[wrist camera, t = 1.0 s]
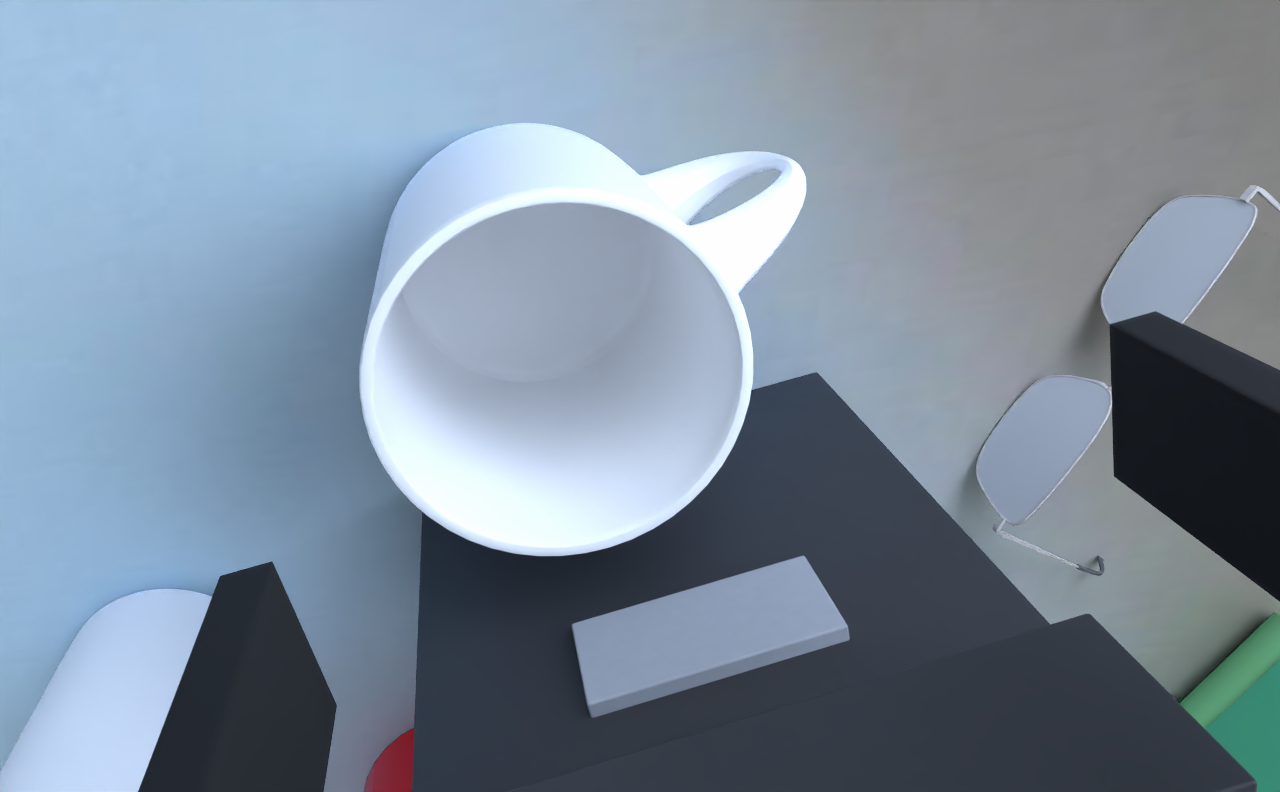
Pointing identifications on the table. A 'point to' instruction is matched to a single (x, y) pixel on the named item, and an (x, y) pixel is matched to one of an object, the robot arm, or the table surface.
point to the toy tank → (1246, 704)
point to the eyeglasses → (1139, 284)
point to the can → (108, 697)
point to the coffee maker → (782, 648)
